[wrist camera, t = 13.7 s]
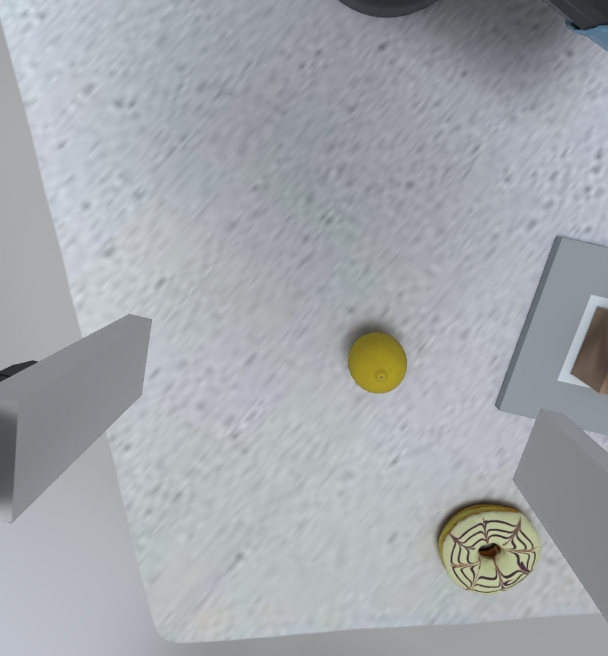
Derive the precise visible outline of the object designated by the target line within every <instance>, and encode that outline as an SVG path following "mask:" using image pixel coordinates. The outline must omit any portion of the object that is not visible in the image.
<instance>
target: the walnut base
mask: <svg viewBox="0 0 608 656" xmlns="http://www.w3.org/2000/svg"><path fill="white" fill-rule="evenodd" d="M571 374H572V375H573V376H575V377H576V378H578V379H579V380H581V381H582V382H583V383H585V384H586V385H588V386H589V387H591V388H592V389H594V390H595V391H596V392H598V393H600V394H604V395H608V394H606V390H607V388H608V309H604V308H599V307H597V309H596V312H595V314H594V317H593V319H592V322H591V324H590V327H589V329H588V332H587V334H586V337H585V339H584V342H583V344H582V347H581V349H580V352H579V354H578V357H577V359H576V362H575V364H574V367H573V369H572V372H571Z"/></svg>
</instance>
